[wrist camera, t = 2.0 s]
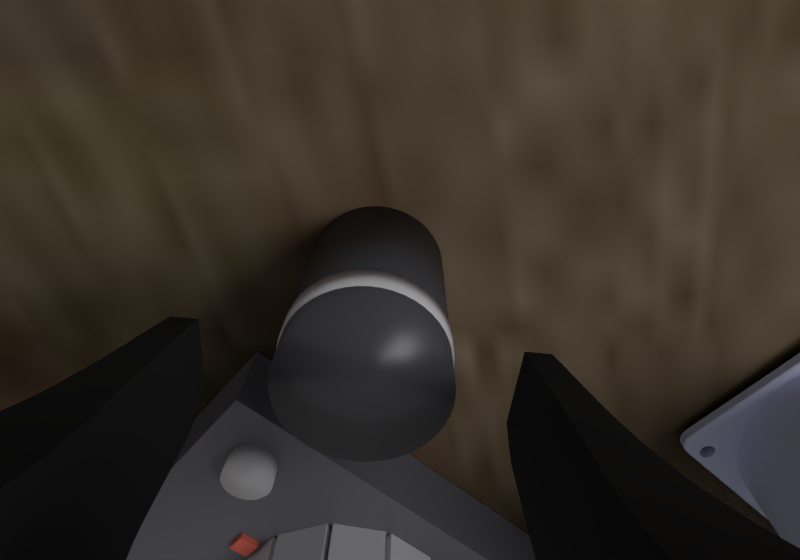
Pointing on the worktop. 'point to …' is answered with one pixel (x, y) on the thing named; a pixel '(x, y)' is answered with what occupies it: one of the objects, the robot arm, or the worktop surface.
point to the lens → (367, 341)
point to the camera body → (306, 497)
